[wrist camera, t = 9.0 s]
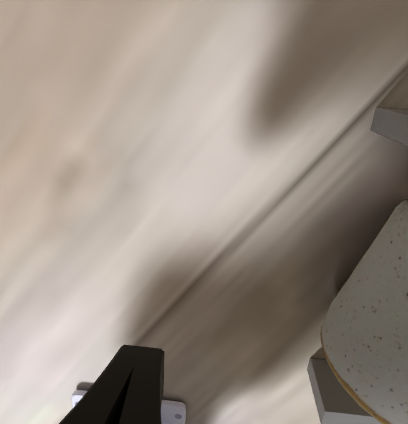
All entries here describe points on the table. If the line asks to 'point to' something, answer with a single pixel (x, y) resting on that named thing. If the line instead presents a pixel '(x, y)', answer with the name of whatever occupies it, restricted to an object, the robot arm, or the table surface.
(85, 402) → the robot arm
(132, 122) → the table surface
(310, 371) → the box
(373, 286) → the ceramic mug
